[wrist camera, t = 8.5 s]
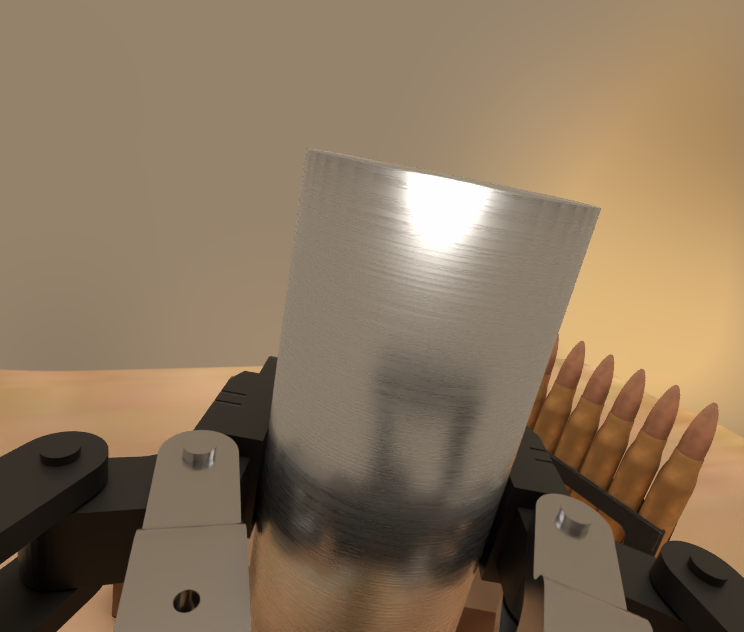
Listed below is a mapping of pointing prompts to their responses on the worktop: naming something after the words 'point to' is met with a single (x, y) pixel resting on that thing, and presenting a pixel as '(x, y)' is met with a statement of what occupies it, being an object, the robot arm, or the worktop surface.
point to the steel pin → (402, 389)
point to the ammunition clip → (620, 450)
